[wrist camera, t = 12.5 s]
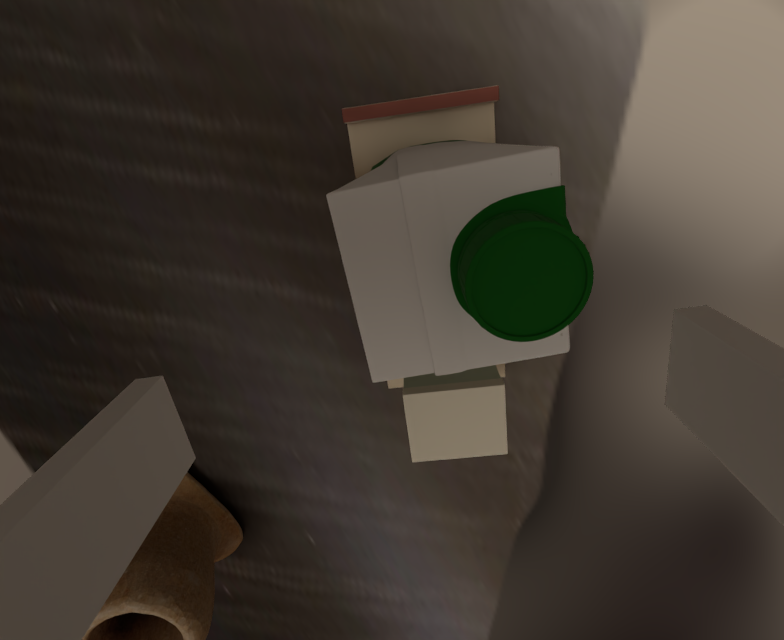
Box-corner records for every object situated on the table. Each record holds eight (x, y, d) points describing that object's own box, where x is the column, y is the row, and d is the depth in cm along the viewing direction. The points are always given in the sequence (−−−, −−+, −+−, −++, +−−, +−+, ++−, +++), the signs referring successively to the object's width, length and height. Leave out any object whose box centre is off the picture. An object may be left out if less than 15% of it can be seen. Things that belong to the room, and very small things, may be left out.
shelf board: (348, 111, 32) (341, 108, 29) (488, 90, 31) (498, 84, 28) (389, 376, 40) (387, 400, 37) (500, 365, 40) (509, 387, 36)
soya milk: (496, 251, 34) (609, 393, 15) (380, 273, 35) (352, 432, 16) (483, 128, 30) (604, 116, 12) (354, 155, 31) (282, 185, 13)
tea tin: (403, 327, 36) (402, 395, 27) (478, 319, 36) (504, 384, 26) (410, 381, 38) (412, 462, 29) (481, 374, 38) (507, 453, 28)
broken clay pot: (275, 525, 48) (223, 684, 34) (190, 563, 50) (109, 725, 36) (184, 422, 43) (79, 559, 29) (94, 469, 45) (-41, 616, 32)
